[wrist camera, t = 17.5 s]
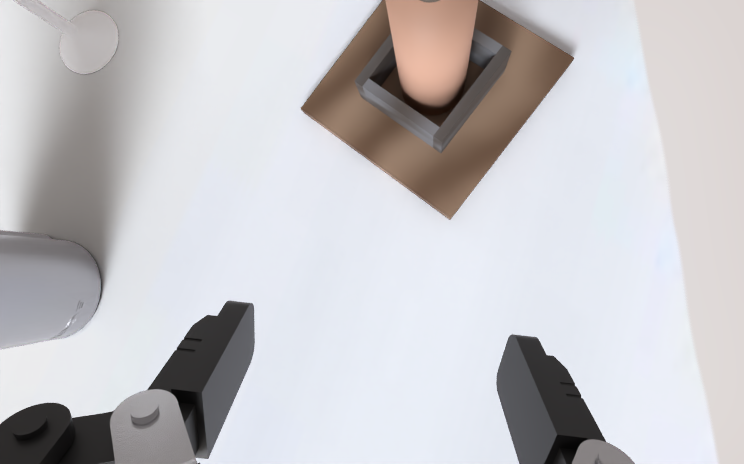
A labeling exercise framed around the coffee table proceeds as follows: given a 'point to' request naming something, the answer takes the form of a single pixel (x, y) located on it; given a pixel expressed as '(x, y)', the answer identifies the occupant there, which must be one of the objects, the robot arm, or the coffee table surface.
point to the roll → (432, 50)
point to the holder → (444, 131)
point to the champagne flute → (80, 36)
